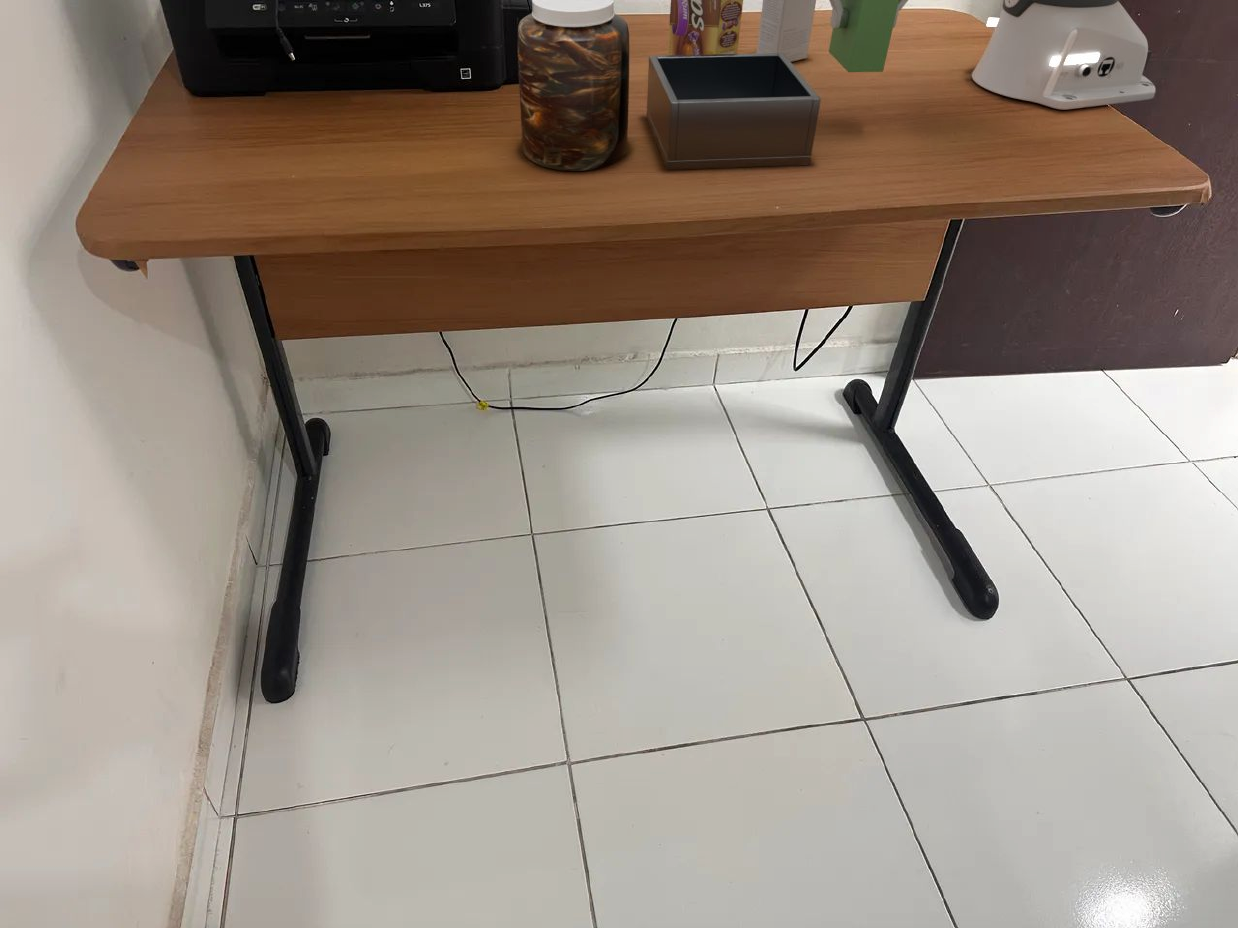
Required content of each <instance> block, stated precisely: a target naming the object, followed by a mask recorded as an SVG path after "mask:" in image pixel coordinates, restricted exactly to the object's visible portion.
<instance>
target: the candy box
mask: <svg viewBox="0 0 1238 928" xmlns="http://www.w3.org/2000/svg"><path fill="white" fill-rule="evenodd" d="M743 5H744V0H670V7H669V12H670V13H669V23H668V24H669V26H668V44H667V55H709V54H738V49H739V42H740V32H741V23H742V15H743Z"/></svg>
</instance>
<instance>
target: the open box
mask: <svg viewBox="0 0 1238 928" xmlns="http://www.w3.org/2000/svg"><path fill="white" fill-rule="evenodd" d="M821 102H822V99H821V97H820V96H819V95H818V93H817V92H816V91H815V90H814V88H813V87H812V86H811V85H810V83H809V82H808V81H807V80H806V79H805V77H803V75H802V74H801V73H800V72H799V70H798V69H797V67H795V65H794V64H793V63H792V62H790V61H789V60H788V58H787V57H786V56H785V55H784V54H783V53H757V52H756V53H737V54H709V55H668V54H667V55H665V54H664V55H648V73H647V97H646V120H647V124H648V125H649V128H650V130H651V133H652V135H653V138H654V140H655V143H656V146H657V147H658V150H659V152H660V155H661V157H662V160H663V162H664V165H665V167H666V170H667V171H677V170H678V171H679V170H704V169H705V170H707V169H708V170H709V169H730V168H731V169H732V168H733V169H734V168H760V167H761V168H763V167H787V166H809V165H810V164H811V159H812V154H813V147H814V141H815V136H816V130H817V124H818V123H817V122H818V119H819V113H820V106H821ZM810 166H811V165H810Z"/></svg>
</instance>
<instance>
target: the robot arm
mask: <svg viewBox="0 0 1238 928" xmlns="http://www.w3.org/2000/svg"><path fill="white" fill-rule="evenodd" d="M908 1H909V0H899V3H898V7H897V12H896V16H895V21H894V25H893V29H894V28H895V27H896V25H897V21H898V17H899V12H901V10H902V9H903V8H904V6H905V5H906V4H907V3H908ZM1120 2H1121V1H1120V0H1003V1H1002V9H1001V12H1000V15H999V17H988V18H987V22H986V27H994V29H993V32H992V35H991V36H990V39H989V41H988V43H987V45H986V48H985V49H984V52H983V53H982V55H981V57H980V59H979V61H978V63H977V65H976V66H975V68H974V69H973V71H972V72H971V78H972V80H973V81H974V82H975V83H976V84H977V85H978V86H980V87H982V89H983V88H984V89H986V90H988V91H990V92H992V93H995V94H998V95H1001V96H1005V97H1008V98H1012V99H1017V100H1020V101H1027V102H1031V103H1037V104H1040V105H1043V106H1046V107H1050V108H1052V109H1056V110H1061V111H1062V110H1063V111H1064V110H1066V111H1067V110H1073V109H1083V108H1091V107H1099V106H1107V105H1114V104H1123V103H1132V102H1139V101H1147V100H1153V99H1155V95H1156V86H1155V84H1154V83H1153V82H1152V81H1151V80H1150V79H1148V78H1147V77H1146V75H1145V76H1144V75H1143V73H1144V71H1145V70H1147V69H1146V68H1147V66H1148V64H1149V61H1150V59H1151V56H1152V54H1153V51H1151V50H1150V49H1149V43H1148V40H1147V37H1146V35H1145V34H1144V33H1143V31H1142V30H1141V29H1140V27H1139V26H1138V25H1137V23H1136V22H1135V21H1134V20H1133V18H1132V17H1131V16H1130V15H1129V13H1128V12H1127V10H1126V9H1125V7H1123V5H1122V4H1121V3H1120ZM829 3H830V6H831V16H830V20H829V21H830V22H829V23H830V24H829V25H830V27H831V28H832V29H833V28H834V29H838V28H847V26H848V20H849V17H850V11H849V10H848V9H847V8H846V7H842V4H841V0H829Z"/></svg>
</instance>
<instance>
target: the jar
mask: <svg viewBox="0 0 1238 928" xmlns="http://www.w3.org/2000/svg"><path fill="white" fill-rule="evenodd" d="M531 7H532V8H531V9H532V10H531V13H529V14H527V15H526V16H525V17H523V18H522V19H521V20H520V21H519V23H518V27H517V67H518V70H517V71H518V88H519V90H518V91H519V106H520V107H519V108H520V109H519V110H520V124H521V125H520V127H521V141H522V150H523V154H524V155H525V157H526V158H527V159H528V160H529V161H531V162H532V163H534V164H536V165H539V166H541V167H545V168H547V169H551V170H552V169H553V170H557V171H568V172H569V171H571V172H573V171H574V172H575V171H576V172H579V171H581V172H582V171H590V170H596V169H601V168H605V167H607V166H610V165H613V164H614V163H617V162H618V161H620V160H621V159H623V157H624V156H625V155H626V153H627V151H628V150H627V149H628V136H629V135H628V133H629V102H630V101H629V99H630V98H629V97H630V29H629V24H628V22H627V20H626V19H625V18H623V17H622V16H620V15H618V14H617V13H615V0H531Z"/></svg>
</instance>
